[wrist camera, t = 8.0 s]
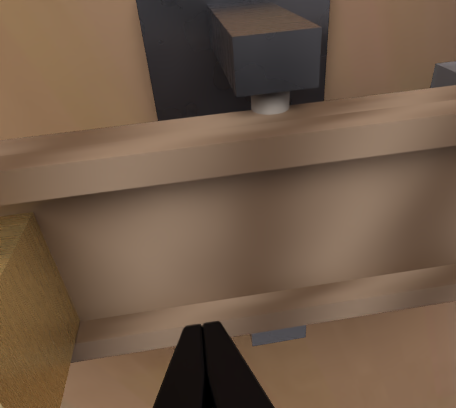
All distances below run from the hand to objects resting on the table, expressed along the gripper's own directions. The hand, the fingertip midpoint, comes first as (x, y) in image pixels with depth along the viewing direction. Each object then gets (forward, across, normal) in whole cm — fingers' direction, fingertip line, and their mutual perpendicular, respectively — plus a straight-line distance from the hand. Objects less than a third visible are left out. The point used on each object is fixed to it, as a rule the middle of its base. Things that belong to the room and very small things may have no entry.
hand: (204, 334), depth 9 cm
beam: (+8, -3, +1) cm, 9 cm away
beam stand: (+13, -3, +1) cm, 13 cm away
